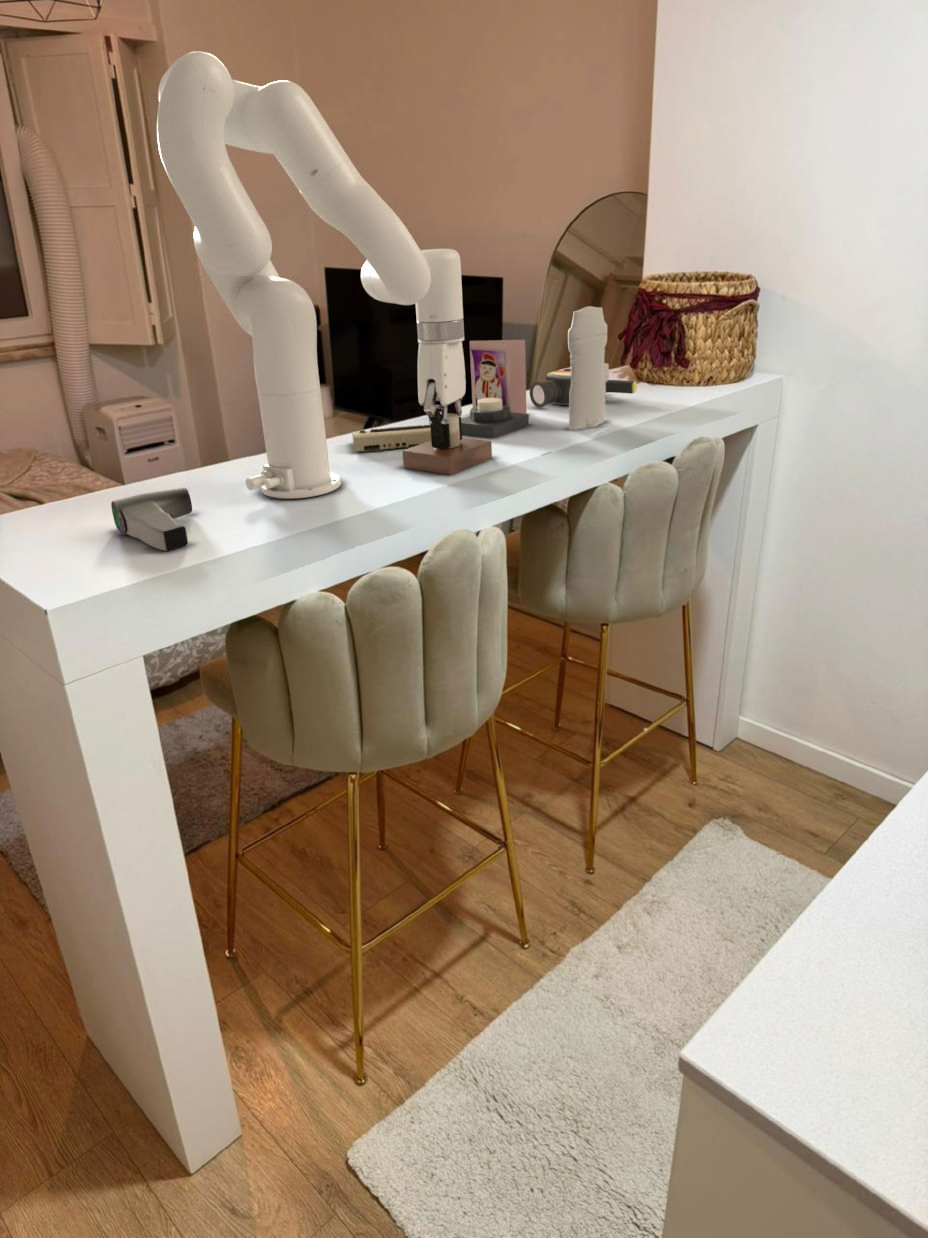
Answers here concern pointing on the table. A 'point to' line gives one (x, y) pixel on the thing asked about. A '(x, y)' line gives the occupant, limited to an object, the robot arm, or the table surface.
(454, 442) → the dial
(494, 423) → the grey square plinth
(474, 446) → the brown flat block
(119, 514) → the infrared thermometer
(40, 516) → the table surface
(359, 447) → the computer
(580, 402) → the tall pale column
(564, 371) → the film camera
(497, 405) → the power button
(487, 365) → the greeting card
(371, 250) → the robot arm
